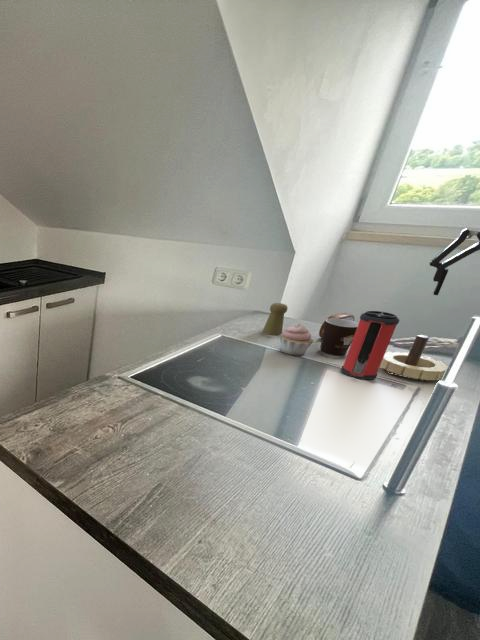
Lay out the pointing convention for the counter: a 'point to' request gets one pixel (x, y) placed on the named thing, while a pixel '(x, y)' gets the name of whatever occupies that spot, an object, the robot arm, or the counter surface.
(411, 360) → the peg stand
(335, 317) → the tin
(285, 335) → the cupcake
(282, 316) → the cork
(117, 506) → the counter surface
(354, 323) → the coffee mug
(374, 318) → the speaker
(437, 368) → the tape
